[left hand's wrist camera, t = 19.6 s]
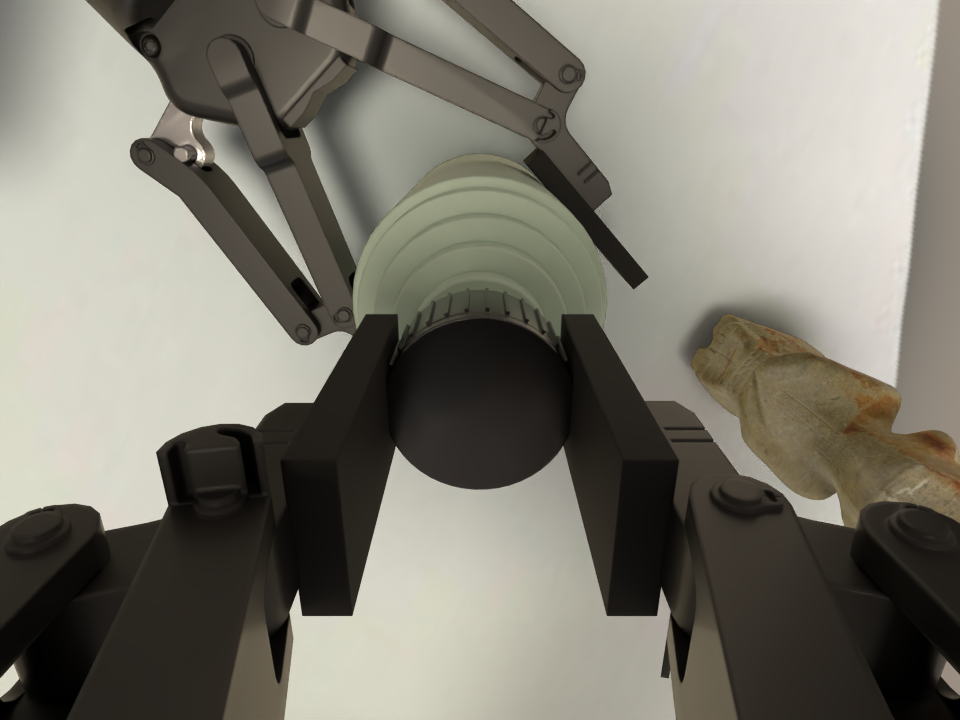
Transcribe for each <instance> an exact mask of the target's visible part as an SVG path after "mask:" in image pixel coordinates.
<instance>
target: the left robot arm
mask: <svg viewBox="0 0 960 720" xmlns="http://www.w3.org/2000/svg"><path fill="white" fill-rule="evenodd" d="M560 339H561V342H562V344H563V347H564V350H565V353H566V355H567V358H568V361H569V363H568V364H567V366H568V369H569V372H570V374H571V377H572V381H573V395H572V411H571V426H570V434H569V436H568V438H567V440H566V442H565V443H564V445H563V446H564V450H565V454H566V457H567V461H568V465H569V469H570V473H571V477H572V481H573V485H574V489H575V493H576V497H577V500H578V504H579V508H580V512H581V516H582V520H583V524H584V528H585V532H586V536H587V540H588V543H589V547H590V551H591V555H592V559H593V563H594V567H595V571H596V575H597V579H598V583H599V586H600V590H601V594H602V598H603V602H604V606H605V610H606V614H607V616H657V612H658V605H659V598H660V591H661V587H662V590H663V592H664V595H665V597H666V600H667V603H668V605H669V608H670V610H671V614H670V620H669V627H668V633H667V640H666V646H665V653H664V659H663V666H662V672H661V677H664V678H669V674H670V671H671V679H672V688H673V697H674V706H675V714H676V720H960V695H958V694H957V693H956V692H955V691H954V690H953V689H952V688H950V686H949V685H948V684H947V683H946V682H945V681H944V680H943V679H942V677H941V674H942V671H943V668H944V666H945V663H946V661H948V662H949V663H950V664H951V665H952V667H953V668H954V669H955V670H956V671H957V672H958V673H959V674H960V523H959V522H957V521H955V520H954V519H952V518H950V517H948V516H945V515H943V514H940V513H938V512H936V511H935V510H933V509H931V508H928V507H925V506H921V505H919V506H917V505H916V504H913V503H907V502H892V501H881V502H876V503H870V504H868V505H867V506H865V507H864V508H863V509H862V510H860V514H859V517H858V521H857V524H856V528H850V527H845V526H840V525H834V524H829V523H824V522H819V521H814V520H809V519H805V518H801V517H797V515H796V513H795V511H794V509H793V507H792V505H791V504H790V502H789V501H788V500H787V499H786V498H785V496H784V495H783V494H782V493H780V492H779V491H777V490H776V489H774V488H773V487H771V486H770V485H768V484H766V483H763V482H761V481H758V480H756V479H753V478H751V477H746V476H741V475H739V474H738V473H737V471H736V470H735V468H734V467H733V466H732V464H731V463H730V462H729V460H728V459H727V457H726V456H725V455H724V453H723V452H722V451H721V449H720V448H719V447H718V445H717V444H716V442H713V438H712V437H711V436H710V434H709V433H708V431H707V430H705V427H704V426H703V425H702V423H701V422H700V421H699V419H698V418H697V416H696V415H695V414H694V413H693V412H691V411H690V410H688V409H687V408H685V407H683V406H682V405H680V404H678V403H677V402H675V401H644V399H643V398H642V396H641V394H640V393H639V391H638V389H637V388H636V386H635V384H634V382H633V381H632V379H631V377H630V376H629V374H628V372H627V370H626V369H625V367H624V365H623V364H622V362H621V360H620V358H619V357H618V355H617V353H616V352H615V350H614V348H613V347H612V345H611V343H610V341H609V340H608V338H607V336H606V335H605V333H604V331H603V329H602V328H601V326H600V324H599V323H598V321H597V319H596V317H595V316H594V314H562V315H561V334H560ZM398 340H399V328H398V314H366V315H365V316H364V318H363V320H362V321H361V323H360V325H359V327H358V328H357V330H356V332H355V333H354V335H353V337H352V338H351V340H350V342H349V344H348V345H347V347H346V349H345V350H344V352H343V354H342V356H341V357H340V359H339V361H338V362H337V364H336V366H335V367H334V369H333V371H332V373H331V374H330V376H329V378H328V379H327V381H326V383H325V385H324V386H323V388H322V390H321V391H320V393H319V395H318V396H317V398H316V400H315V402H314V403H284V404H283V405H281V406H279V407H278V408H276V409H275V410H273V411H271V412H270V413H268V414H267V415H265V417H264V418H263V419H262V421H261V422H260V423H259V425H258V426H257V428H256V429H255V428H253V427H250V426H245V425H241V424H217V425H211V426H205V427H200V428H197V429H194V430H191V431H188V432H185V433H182V434H180V435H178V436H176V437H175V438H173V439H171V440H169V441H167V442H166V443H165V444H164V445H163V446H162V447H161V448H160V449H159V450H158V451H157V452H156V454H157V458H158V462H159V467H160V471H161V475H162V480H163V484H164V488H165V493H166V497H167V501H168V508H167V510H166V512H165V514H164V516H163V518H162V519H161V520H157V521H153V522H149V523H144V524H139V525H134V526H129V527H123V528H118V529H113V530H108V531H104V527H103V524H102V520H101V517H100V513H99V512H97V511H96V510H95V509H93V508H92V507H91V506H85V505H80V504H66V505H52V506H47V507H44V508H43V509H41V508H38V509H35V510H32V511H29V512H27V513H25V514H24V515H22V516H19V517H17V518H15V519H12V520H10V521H8V522H6V523H5V524H3V525H1V526H0V678H1V677H2V676H3V674H4V673H5V672H6V671H7V670H8V669H9V668H10V667H11V666H12V665H13V664H14V666H15V668H16V671H17V673H18V676H19V680H18V681H17V682H16V683H15V685H14V686H13V687H12V688H11V689H10V690H9V691H8V692H7V693H6V694H4V695H3V696H2V697H1V698H0V720H284V716H285V707H286V698H287V689H288V681H289V672H290V663H291V654H292V646H293V633H292V627H291V620H290V614H289V611H290V609H291V606H292V604H293V601H294V599H295V596H296V593H297V591H298V589H299V596H300V603H301V610H302V616H352V615H353V611H354V607H355V603H356V599H357V595H358V592H359V588H360V584H361V580H362V576H363V572H364V568H365V564H366V560H367V556H368V553H369V549H370V545H371V541H372V537H373V533H374V529H375V525H376V521H377V517H378V513H379V510H380V506H381V502H382V498H383V494H384V490H385V486H386V482H387V478H388V474H389V471H390V467H391V463H392V459H393V455H394V451H395V447H396V445H395V443H394V441H393V439H392V437H391V435H390V432H389V421H388V406H387V390H386V381H387V378H388V376H389V373H390V370H391V368H389V364H390V361H391V358H392V356H393V353H394V350H395V348H396V345H397V342H398Z"/></svg>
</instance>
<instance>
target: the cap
mask: <svg viewBox="0 0 960 720" xmlns="http://www.w3.org/2000/svg"><path fill="white" fill-rule="evenodd" d="M568 363H569V361H568V358H567V355H566V353H565V350H564V347H563V344H562V342H561V339H560V337H559V335H558V336H556V334H555V332H554V329H553V326H552V323H551V322H550V321H548V322H547V321H546V319H545V318H544V317H543V316H542V315H541V313H540V310H539V309H538V308H536V309H534V308H533V307H532V306H530V305H529V304H528V303H526V302H525V300H524V299H523V298H521V299H518V298H516V297H514V296H511V295H509V294H507V292H506V291H504V292H503V293H501V292H497V291H491V290H489V288H485V290H470V288H468V289H466V291H461V292H458V293H454V294H451V292H450V293H448V294H447V296H446V297H443V298H441V299H439V300H437V301H434V300H433V301H431V303H430V305H429V306H428V307H426V308H425V309H424V310H423V311H421V312H420V311H418V312H417V313H416V316H415V318H414V320H413V321H412V322H411V324H410V325H408V324H407V325H406V326H405V329H404V332H403V335H402V337H401V340H398V342H397V345H396V348H395V350H394V353H393V356H392V358H391V361H390V364H389V368H391V370H390V373H389V376H388V378H387V381H386V390H387V406H388V421H389V432H390V435H391V437H392V439H393V441H394V443H395V445H396V446H397V448H398V449H399V450H400V452H401V453H402V454H403V456H404V457H405V458H406V459H407V460H408V461H409V462H410V463H411V464H412V465H413V466H415V467H416V468H417V469H418V470H420V471H421V472H423V473H424V474H426V475H427V476H429V477H431V478H433V479H435V480H437V481H439V482H442V483H445V484H448V485H451V486H455V487H459V488H465V489H475V490H476V489H494V488H500V487H505V486H509V485H512V484H515V483H517V482H520V481H522V480H524V479H526V478H528V477H530V476H532V475H534V474H535V473H537V472H538V471H540V470H541V469H542V468H544V467H545V466H546V465H547V464H548V463H549V462H550V461H551V460H552V459H553V458H554V457H555V456H556V455H557V454H558V452H559V451H560V449H561V448H562V447H563V445H564V443H565V442H566V440H567V438H568V436H569V434H570V426H571V411H572V395H573V381H572V377H571V374H570V372H569V369H568V366H567V364H568Z"/></svg>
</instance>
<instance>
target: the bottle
mask: <svg viewBox="0 0 960 720" xmlns="http://www.w3.org/2000/svg"><path fill="white" fill-rule="evenodd" d="M468 288H470V290H485V288H489V290H491V291H497V292H501V293H503V292H504V291H506V292H507V294H509V295H511V296H514V297H516V298H518V299H521V298H523V299H524V300H525V302H526V303H528V304H529V305H530V306H532V307H533V308H534V309H536V308H538V309H539V310H540V313H541V315H542V316H543V317H544V318H545V319H546V321H547V322H548V321H550V322H551V323H552V326H553V329H554V332H555V334H556V336H558V335H559V337H560V334H561V315H562V314H594V316H595V317H596V319H597V321H598V323H599V324H600V326H601V328H602V329H603V325H604V321H605V315H606V306H607V291H606V281H605V275H604V270H603V267H602V264H601V260H600V257H599V254H598V252H597V250H596V248H595V246H594V244H593V242H592V240H591V238H590V237H589V235H588V233H587V232H586V230H585V229H584V227H583V226H582V225H581V224H580V222H579V221H578V220H577V219H576V218H575V217H574V215H573V214H572V213H571V212H570V211H569V210H568V209H567V208H566V207H565V206H564V205H563V204H562V203H561V202H560V201H559V200H558V199H557V198H556V197H555V196H554V195H553V194H552V193H551V192H550V191H549V190H548V189H547V188H546V187H545V186H544V185H543V184H542V183H541V182H540V181H539V180H538V179H537V178H536V177H535V176H534V175H533V174H532V173H530V172H529V171H528V170H527V169H525V168H524V167H522V166H521V165H519V164H518V163H515V162H513V161H511V160H509V159H506V158H503V157H500V156H496V155H490V154H470V155H464V156H460V157H456V158H453V159H451V160H448V161H446V162H444V163H442V164H441V165H439V166H437V167H436V168H434V169H433V170H432V171H430V172H429V173H428V174H427V175H426V176H425V177H424V178H423V179H422V180H421V181H420V182H419V183H418V184H417V185H416V186H415V187H414V188H413V189H412V190H411V191H410V192H409V193H408V194H407V195H406V196H405V197H404V198H403V199H402V200H401V201H400V202H399V203H398V204H397V205H396V206H395V207H394V208H393V209H392V210H391V211H390V212H389V213H388V214H387V215H386V216H385V217H384V218H383V219H382V220H381V221H380V223H379V224H378V226H377V227H376V228H375V230H374V231H373V232H372V234H371V235H370V237H369V239H368V241H367V243H366V245H365V246H364V248H363V251H362V253H361V256H360V259H359V261H358V264H357V269H356V273H355V277H354V285H353V313H354V318H355V323H356V328H358V327H359V325H360V323H361V321H362V320H363V318H364V316H365V315H366V314H398V328H399V340H401V337H402V335H403V332H404V329H405V326H406V325H407V324H408V325H410V324H411V322H412V321H413V320H414V318H415V316H416V313H417V312H418V311H420V312H421V311H423V310H424V309H425V308H426V307H428V306H429V305H430V303H431V301H433V300H434V301H437V300H439V299H441V298H443V297H446V296H447V294H448V293H450V292H451V294H454V293H458V292H461V291H466V289H468Z"/></svg>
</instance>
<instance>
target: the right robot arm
mask: <svg viewBox="0 0 960 720" xmlns="http://www.w3.org/2000/svg"><path fill="white" fill-rule="evenodd" d="M86 1H87V2H88V3H89V4H90V5H91V6H92V7H93V8H94V9H95V10H96V11H97V12H98V13H99V14H100V15H101V16H102V17H103V18H104V19H105V20H106V21H107V22H108V23H109V24H110V25H111V26H112V27H113V28H114V29H115V30H116V31H117V32H118V33H119V34H120V35H121V36H122V37H123V38H124V39H125V40H126V41H127V42H128V43H129V44H130V45H131V46H132V47H133V48H135V49H136V50H137V51H138V52H139V53H140V54H141V55H142V56H143V57H144V58H145V59H146V60H147V61H148V62H149V63H150V64H151V65H152V67H153V68H154V70H155V71H156V73H157V75H158V77H159V79H160V81H161V83H162V86H163V89H164V91H165V94H166V95H167V97H168V99H169V100H170V102H169V104H168V106H167V108H166V110H165V112H164V113H163V115H162V117H161V119H160V121H159V123H158V125H157V126H156V128H155V130H154V132H153V134H152V136H151V137H150V138H141V139H138V140H135V141H134V143H133V144H132V145H131V148H130V155H131V159H132V161H133V163H134V164H135V165H136V166H137V167H138V168H139V169H140V170H142V171H143V172H145V173H146V174H148V175H149V176H150V177H152V178H153V179H155V180H156V181H158V182H159V183H160V184H162V185H163V186H165V187H166V188H168V189H169V190H170V191H172V192H173V193H175V194H176V195H178V196H179V197H180V198H181V200H182V201H183V202H184V203H185V205H186V206H187V207H188V208H189V210H190V211H191V212H192V213H193V215H194V216H195V217H196V218H197V220H198V221H199V222H200V224H201V225H202V226H203V227H204V229H205V230H206V231H207V232H208V234H209V235H210V236H211V237H212V239H213V240H214V241H215V242H216V244H217V245H218V246H219V247H220V249H221V250H222V251H223V253H224V254H225V255H226V256H227V258H228V259H229V260H230V261H231V263H232V264H233V265H234V266H235V268H236V269H237V270H238V271H239V273H240V274H241V275H242V277H243V278H244V279H245V280H246V282H247V283H248V284H249V285H250V287H251V288H252V289H253V290H254V292H255V293H256V294H257V295H258V297H259V298H260V299H261V300H262V302H263V303H264V304H265V306H266V307H267V308H268V309H269V311H270V312H271V313H272V314H273V316H274V317H275V318H276V319H277V321H278V322H279V323H280V324H281V326H282V327H283V328H284V330H285V331H286V332H287V333H288V335H289V336H290V337H291V338H292V339H293V340H294V341H295V342H296V343H298V344H300V345H309V344H312V343H313V342H314V341H315V340H316V339H318V338H321V337H323V336H325V335H328V334H330V333H333V332H336V331H343V332H347V333H349V334H351V335H352V336H353V335H354V333H355V332H356V330H357V328H356V323H355V318H354V313H353V285H354V277H355V273H356V269H357V267H356V265H355V263H354V260H353V258H352V255H351V253H350V251H349V248H348V246H347V243H346V241H345V239H344V236H343V234H342V231H341V229H340V227H339V224H338V222H337V219H336V217H335V215H334V212H333V210H332V207H331V205H330V203H329V200H328V198H327V195H326V193H325V191H324V188H323V186H322V183H321V181H320V179H319V176H318V174H317V171H316V169H315V167H314V164H313V162H312V159H311V151H310V147H309V144H308V142H307V139H306V137H305V134H304V132H303V129H302V127H306V126H307V125H308V124H309V123H310V122H311V120H312V119H313V118H314V117H315V116H316V115H317V114H318V112H319V110H320V108H321V106H322V104H323V102H324V100H325V98H326V96H327V95H328V94H329V93H331V92H332V91H334V90H336V89H337V88H339V87H341V86H342V85H344V84H345V83H346V82H347V81H348V80H349V79H350V78H351V76H352V75H353V74H354V73H355V72H356V71H357V70H358V69H357V68H356V67H355V66H356V64H357V62H358V60H359V61H361V62H363V63H365V64H367V65H370V66H372V67H374V68H376V69H378V70H380V71H383V72H385V73H387V74H389V75H391V76H394V77H396V78H398V79H400V80H402V81H404V82H407V83H409V84H411V85H413V86H415V87H418V88H420V89H422V90H424V91H426V92H428V93H431V94H433V95H435V96H437V97H439V98H441V99H444V100H446V101H448V102H450V103H452V104H454V105H457V106H459V107H461V108H463V109H465V110H467V111H470V112H472V113H474V114H476V115H478V116H480V117H483V118H485V119H487V120H489V121H491V122H494V123H496V124H498V125H500V126H502V127H504V128H507V129H509V130H511V131H513V132H515V133H517V134H520V135H522V136H524V137H526V138H528V139H529V140H530V141H531V142H532V143H533V144H534V146H535V147H536V149H535V150H534V151H533V152H532V153H531V154H530V155H529V156H528V157H527V158H525V159H524V160H523V161H524V162H525V163H526V165H527V166H528V167H529V168H530V169H531V171H532V172H533V173H534V174H535V175H536V176H537V178H538V179H539V180H540V181H541V182H542V183H543V185H544V186H545V187H546V188H547V189H548V190H549V191H550V192H551V193H552V194H553V195H554V196H555V197H556V198H557V199H558V200H559V201H560V202H561V203H562V204H563V205H564V206H565V207H566V208H567V209H568V210H569V211H570V212H571V213H572V214H573V215H574V217H575V218H576V219H577V220H578V221H579V222H580V224H581V225H582V226H583V227H584V229H585V230H586V232H587V233H588V235H589V237H590V238H591V240H592V242H593V243H594V245H595V246H596V247H597V248H598V249H599V250H600V252H601V253H602V254H603V255H604V256H605V257H606V259H607V260H608V261H609V262H610V263H611V265H612V266H613V267H614V268H615V269H616V270H617V272H618V273H619V274H620V275H621V276H622V277H623V278H624V279H625V280H626V282H627V283H628V284H629V285H630V286H631V287H632V288H633V289H635V288H636V287H637V286H638V285H640V284H641V283H642V282H643V281H644V280H646V279H647V278H648V276H647V274H646V273H645V272H644V271H643V270H642V268H641V267H640V266H639V265H638V264H637V262H636V261H635V260H634V259H633V258H632V257H631V255H630V254H629V253H628V252H627V251H626V249H625V248H624V247H623V246H622V245H621V243H620V242H619V241H618V240H617V239H616V237H615V236H614V235H613V234H612V233H611V231H610V230H609V229H608V228H607V227H606V225H605V224H604V223H603V222H602V221H601V219H600V218H599V217H598V216H597V215H596V213H595V212H594V210H595V209H596V208H597V207H599V206H600V205H601V204H602V203H603V202H604V201H605V200H606V199H608V198H609V197H610V196H611V195H612V193H611V189H610V186H609V182H608V180H607V179H606V178H605V177H604V175H603V174H602V173H601V172H600V171H599V169H598V168H597V167H596V166H595V164H594V163H593V162H592V161H591V159H590V158H589V157H588V156H587V154H586V153H585V152H584V151H583V150H582V148H581V147H580V146H579V145H578V143H577V142H576V141H575V140H574V138H573V137H572V136H571V135H570V133H569V132H568V130H567V127H566V122H565V117H566V112H567V110H568V108H569V106H570V104H571V102H572V100H573V98H574V96H575V94H576V92H577V90H578V89H579V87H581V86H582V84H583V82H584V80H585V68H584V65H583V63H582V62H581V61H580V59H578V58H577V57H576V56H575V55H574V54H573V53H572V52H571V51H569V50H568V49H567V48H566V47H565V46H564V45H563V44H561V43H560V42H559V41H558V40H557V39H556V38H555V37H553V36H552V35H551V34H550V33H549V32H548V31H547V30H545V29H544V28H543V27H542V26H541V25H540V24H539V23H537V22H536V21H535V20H534V19H533V18H532V17H531V16H529V15H528V14H527V13H526V12H525V11H524V10H523V9H521V8H520V7H519V6H518V5H517V4H516V3H515V2H513V1H512V0H443V1H444V2H445V3H446V4H447V5H448V6H450V7H451V8H452V9H453V10H454V11H456V12H457V13H458V14H459V15H460V16H461V17H463V18H464V19H465V20H466V21H467V22H469V23H470V24H471V25H472V26H473V27H474V28H476V29H477V30H478V31H479V32H480V33H481V34H483V35H484V36H485V37H486V38H487V39H489V40H490V41H491V42H492V43H493V44H494V45H496V46H497V47H498V48H499V49H500V50H502V51H503V52H504V53H505V54H506V55H507V56H509V57H510V58H511V59H512V60H513V61H514V62H516V63H517V64H518V65H519V66H520V67H522V68H523V69H524V70H525V71H526V72H527V73H529V74H530V75H531V76H532V77H533V78H535V79H536V80H537V81H538V82H539V83H540V84H541V86H540V88H539V90H538V92H537V94H536V96H535V98H534V100H533V101H531V100H529V99H527V98H525V97H523V96H521V95H519V94H516V93H514V92H512V91H510V90H508V89H506V88H504V87H502V86H499V85H497V84H495V83H493V82H491V81H489V80H487V79H485V78H482V77H480V76H478V75H476V74H474V73H472V72H470V71H468V70H465V69H463V68H461V67H459V66H457V65H455V64H453V63H451V62H448V61H446V60H444V59H442V58H440V57H438V56H436V55H434V54H432V53H429V52H427V51H425V50H423V49H421V48H419V47H417V46H415V45H412V44H410V43H408V42H406V41H404V40H402V39H400V38H398V37H395V36H393V35H391V34H389V33H388V32H386V31H384V30H382V29H380V28H378V27H376V26H374V25H372V24H370V23H368V22H366V21H364V20H362V19H359V18H357V17H356V13H355V8H354V2H353V0H86ZM203 119H206V120H211V121H216V122H221V123H225V124H230V125H235V126H240V129H241V131H242V133H243V135H244V138H245V140H246V142H247V144H248V146H249V149H250V151H251V153H252V155H253V157H254V159H255V161H256V163H257V164H258V166H259V167H260V168H261V169H262V170H263V171H264V172H265V174H266V175H267V178H268V180H269V182H270V184H271V186H272V189H273V191H274V193H275V195H276V198H277V200H278V202H279V204H280V207H281V209H282V211H283V213H284V216H285V218H286V220H287V222H288V225H289V227H290V229H291V231H292V233H293V236H294V238H295V240H296V242H297V245H298V247H299V249H300V251H301V254H302V256H303V258H304V260H305V263H306V265H307V267H308V269H309V271H310V274H311V276H312V278H313V280H314V283H315V285H316V287H317V289H318V292H319V294H320V296H321V297H320V296H319V295H318V293H317V292H316V291H315V289H314V288H313V287H312V285H311V284H310V283H309V281H308V280H307V279H306V277H305V276H304V275H303V273H302V272H301V271H300V269H299V268H298V267H297V265H296V264H295V263H294V261H293V260H292V259H291V257H290V256H289V255H288V254H287V252H286V251H285V250H284V248H283V247H282V246H281V244H280V243H279V242H278V240H277V239H276V238H275V236H274V235H273V234H272V232H271V231H270V230H269V228H268V227H267V226H266V224H265V223H264V222H263V220H262V219H261V218H260V216H259V215H258V214H257V212H256V211H255V210H254V208H253V207H252V206H251V204H250V203H249V202H248V200H247V199H246V198H245V196H244V195H243V194H242V192H241V191H240V190H239V188H238V187H237V186H236V184H235V183H234V182H233V181H232V180H231V178H230V177H229V176H228V175H227V174H226V173H225V172H224V171H223V170H222V169H221V168H220V167H219V166H218V165H216V164H215V163H214V162H213V161H214V159H215V152H214V149H213V147H212V145H211V144H210V142H209V141H208V140H207V139H206V138H205V136H204V134H203V131H202V122H203ZM321 298H322V299H321Z"/></svg>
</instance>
